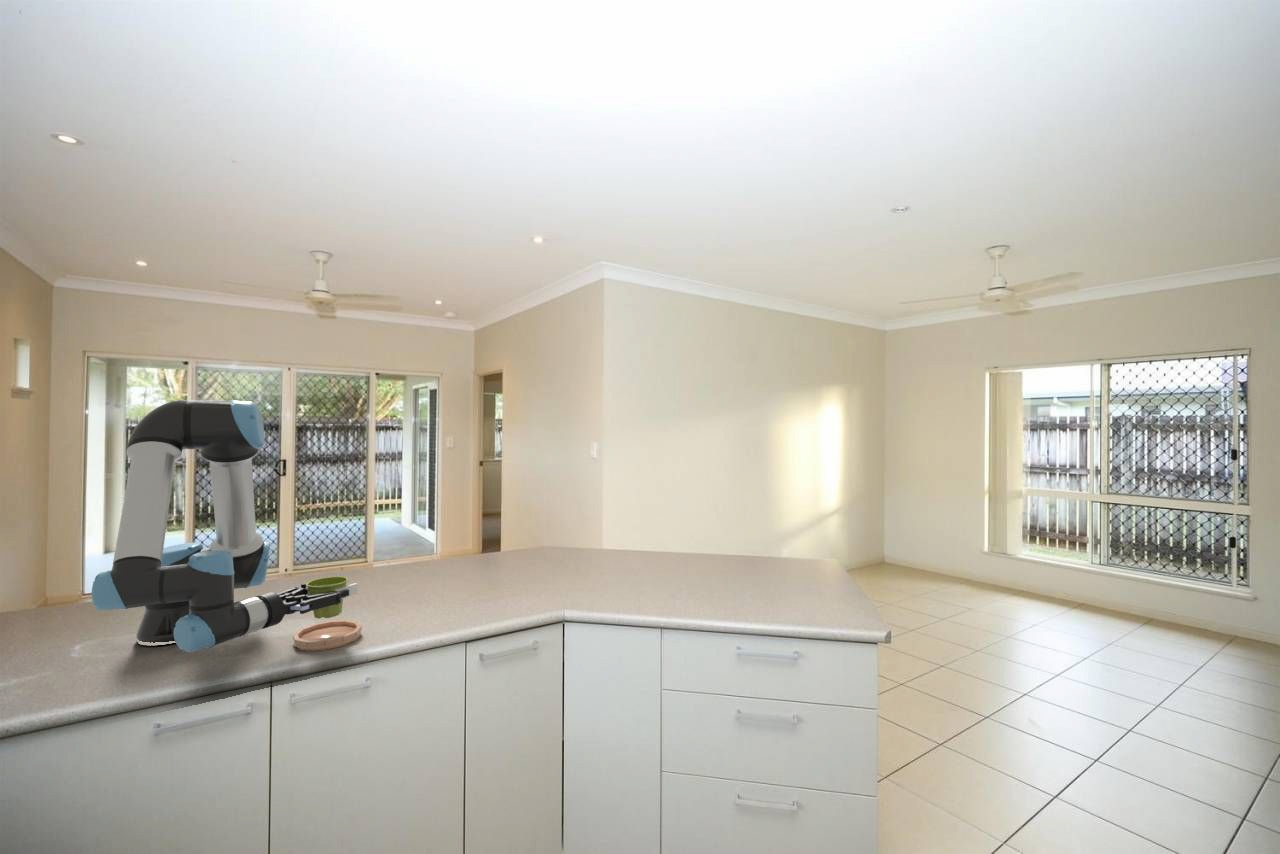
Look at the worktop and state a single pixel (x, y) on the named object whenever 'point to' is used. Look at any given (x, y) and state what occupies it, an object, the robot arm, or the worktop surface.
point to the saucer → (327, 635)
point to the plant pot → (323, 587)
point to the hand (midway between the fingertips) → (343, 586)
